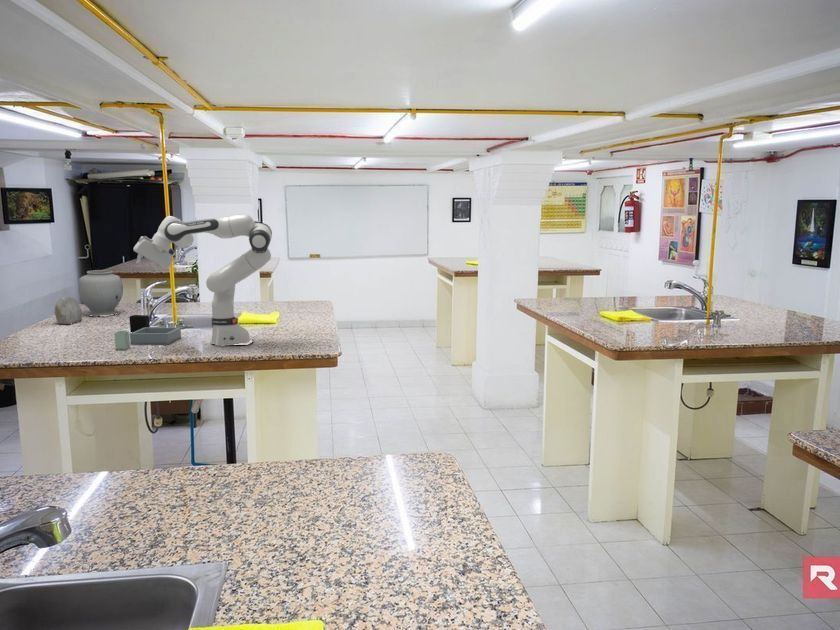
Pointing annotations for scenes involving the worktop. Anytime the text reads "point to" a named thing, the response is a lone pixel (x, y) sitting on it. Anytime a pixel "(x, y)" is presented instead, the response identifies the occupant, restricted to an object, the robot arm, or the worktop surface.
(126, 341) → the pale green block
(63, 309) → the decorative stone
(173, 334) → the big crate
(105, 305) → the grey ceramic vase
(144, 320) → the electronic device
